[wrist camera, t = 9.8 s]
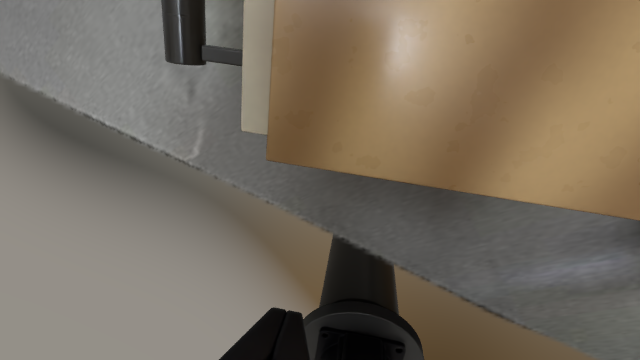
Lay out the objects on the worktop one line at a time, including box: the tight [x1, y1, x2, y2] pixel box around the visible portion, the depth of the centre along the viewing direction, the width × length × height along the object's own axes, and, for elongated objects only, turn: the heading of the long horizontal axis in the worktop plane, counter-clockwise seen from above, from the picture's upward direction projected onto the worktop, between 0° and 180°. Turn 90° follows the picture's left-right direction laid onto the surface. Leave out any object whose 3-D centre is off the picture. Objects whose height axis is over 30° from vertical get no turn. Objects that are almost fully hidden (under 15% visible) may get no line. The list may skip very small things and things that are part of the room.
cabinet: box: [266, 0, 640, 221], centre depth 12 cm, size 14×12×10 cm
